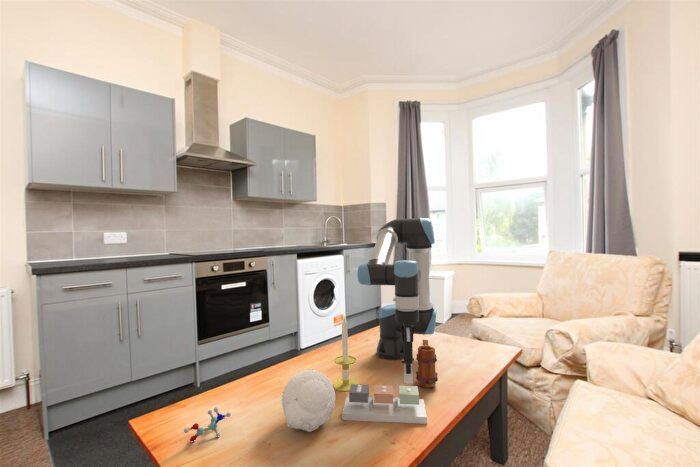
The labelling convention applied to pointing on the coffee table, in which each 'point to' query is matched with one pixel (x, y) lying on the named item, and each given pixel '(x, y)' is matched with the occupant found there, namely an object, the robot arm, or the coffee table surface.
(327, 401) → the white rounded lump
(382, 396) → the tile terracotta
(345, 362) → the candle
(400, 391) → the tile sage
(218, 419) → the molecular model
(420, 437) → the coffee table surface
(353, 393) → the tile charcoal
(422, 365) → the mug
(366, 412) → the board
